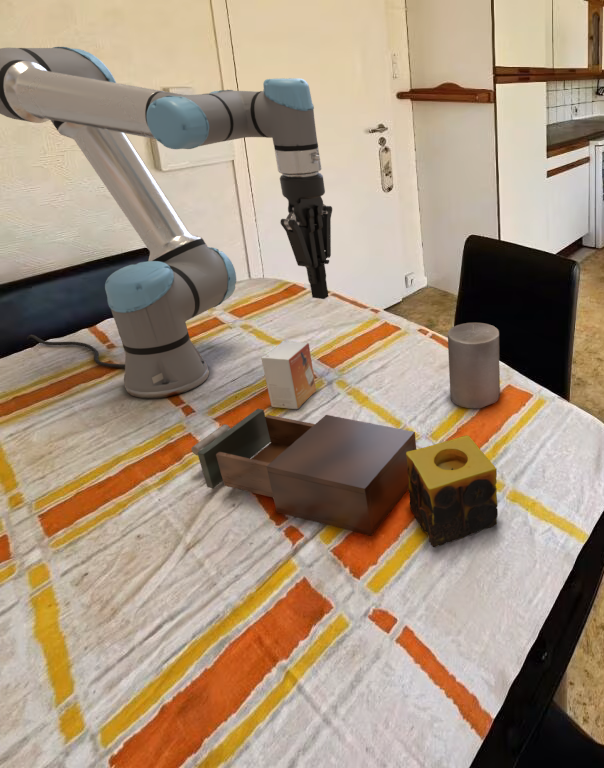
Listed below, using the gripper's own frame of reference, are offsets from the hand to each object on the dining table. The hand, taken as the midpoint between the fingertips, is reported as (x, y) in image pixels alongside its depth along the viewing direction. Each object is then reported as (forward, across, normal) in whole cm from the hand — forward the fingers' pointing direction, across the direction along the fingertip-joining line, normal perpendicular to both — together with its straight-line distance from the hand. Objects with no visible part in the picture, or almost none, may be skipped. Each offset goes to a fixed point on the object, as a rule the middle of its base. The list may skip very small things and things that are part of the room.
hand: (320, 296), depth 124 cm
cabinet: (+17, -34, -26) cm, 46 cm away
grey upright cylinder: (+17, 0, -33) cm, 37 cm away
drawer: (+16, -34, -10) cm, 39 cm away
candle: (+17, -34, -43) cm, 58 cm away
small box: (+17, -13, 0) cm, 21 cm away
